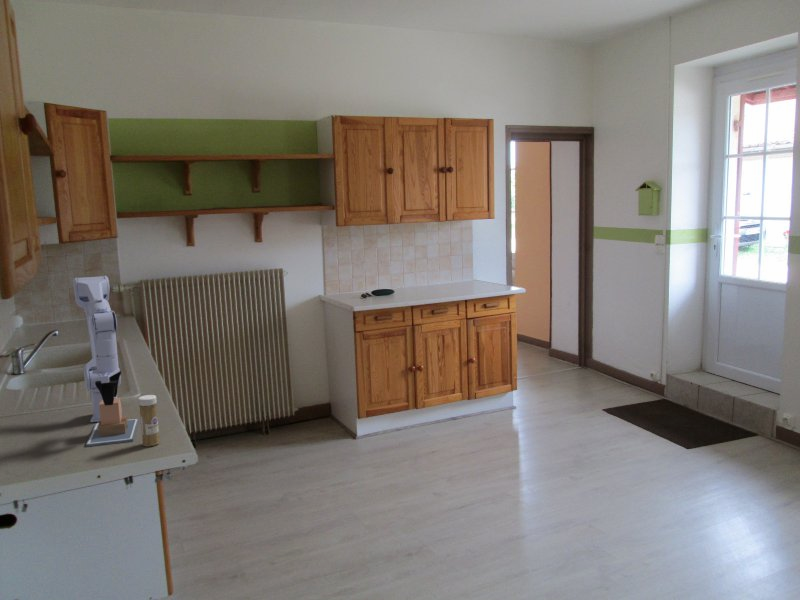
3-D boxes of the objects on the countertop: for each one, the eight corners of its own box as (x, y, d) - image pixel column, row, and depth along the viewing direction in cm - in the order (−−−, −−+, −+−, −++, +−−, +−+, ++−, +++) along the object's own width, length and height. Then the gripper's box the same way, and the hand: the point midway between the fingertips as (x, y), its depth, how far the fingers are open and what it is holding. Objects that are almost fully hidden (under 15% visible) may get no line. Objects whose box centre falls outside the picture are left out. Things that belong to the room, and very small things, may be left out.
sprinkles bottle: (154, 447, 178) (150, 399, 175) (139, 446, 178) (134, 399, 176) (163, 441, 182) (159, 394, 180) (147, 440, 183) (143, 394, 181)
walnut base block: (102, 428, 192) (101, 418, 191) (128, 425, 194) (127, 415, 193) (98, 436, 185) (97, 426, 184) (125, 433, 187) (124, 423, 186)
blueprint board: (95, 425, 196) (95, 423, 196) (138, 420, 200) (138, 418, 199) (85, 446, 179) (85, 444, 179) (133, 441, 182) (132, 438, 182)
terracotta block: (103, 419, 190) (101, 399, 189) (122, 417, 192) (120, 397, 191) (101, 425, 186) (99, 404, 185) (120, 422, 187) (118, 402, 186)
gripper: (95, 350, 191) (99, 395, 194) (86, 361, 178) (91, 410, 180) (121, 348, 193) (125, 392, 196) (115, 359, 180) (119, 407, 182)
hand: (110, 400), depth 188 cm, fingers open, 7 cm apart
